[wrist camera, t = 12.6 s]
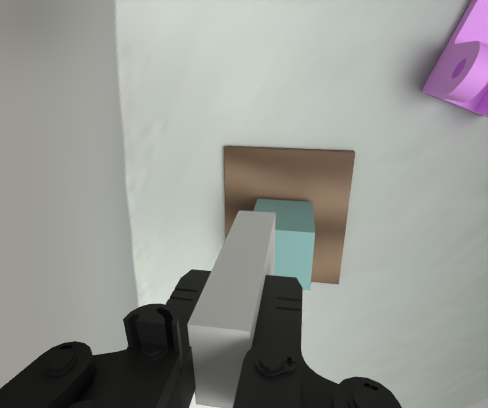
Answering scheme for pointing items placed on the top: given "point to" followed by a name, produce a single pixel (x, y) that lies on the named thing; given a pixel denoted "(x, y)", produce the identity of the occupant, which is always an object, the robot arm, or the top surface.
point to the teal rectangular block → (292, 237)
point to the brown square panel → (295, 193)
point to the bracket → (464, 63)
